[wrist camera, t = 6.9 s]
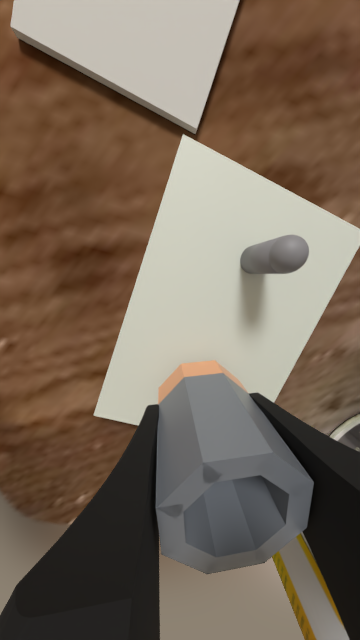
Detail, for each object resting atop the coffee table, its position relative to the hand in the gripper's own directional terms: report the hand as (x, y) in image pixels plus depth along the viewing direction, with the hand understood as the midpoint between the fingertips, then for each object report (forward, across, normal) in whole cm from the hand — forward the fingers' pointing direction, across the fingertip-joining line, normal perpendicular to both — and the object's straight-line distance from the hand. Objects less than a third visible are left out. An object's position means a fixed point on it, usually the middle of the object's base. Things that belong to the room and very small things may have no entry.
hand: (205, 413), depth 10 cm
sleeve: (+1, 0, 0) cm, 1 cm away
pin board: (+4, -2, -4) cm, 6 cm away
